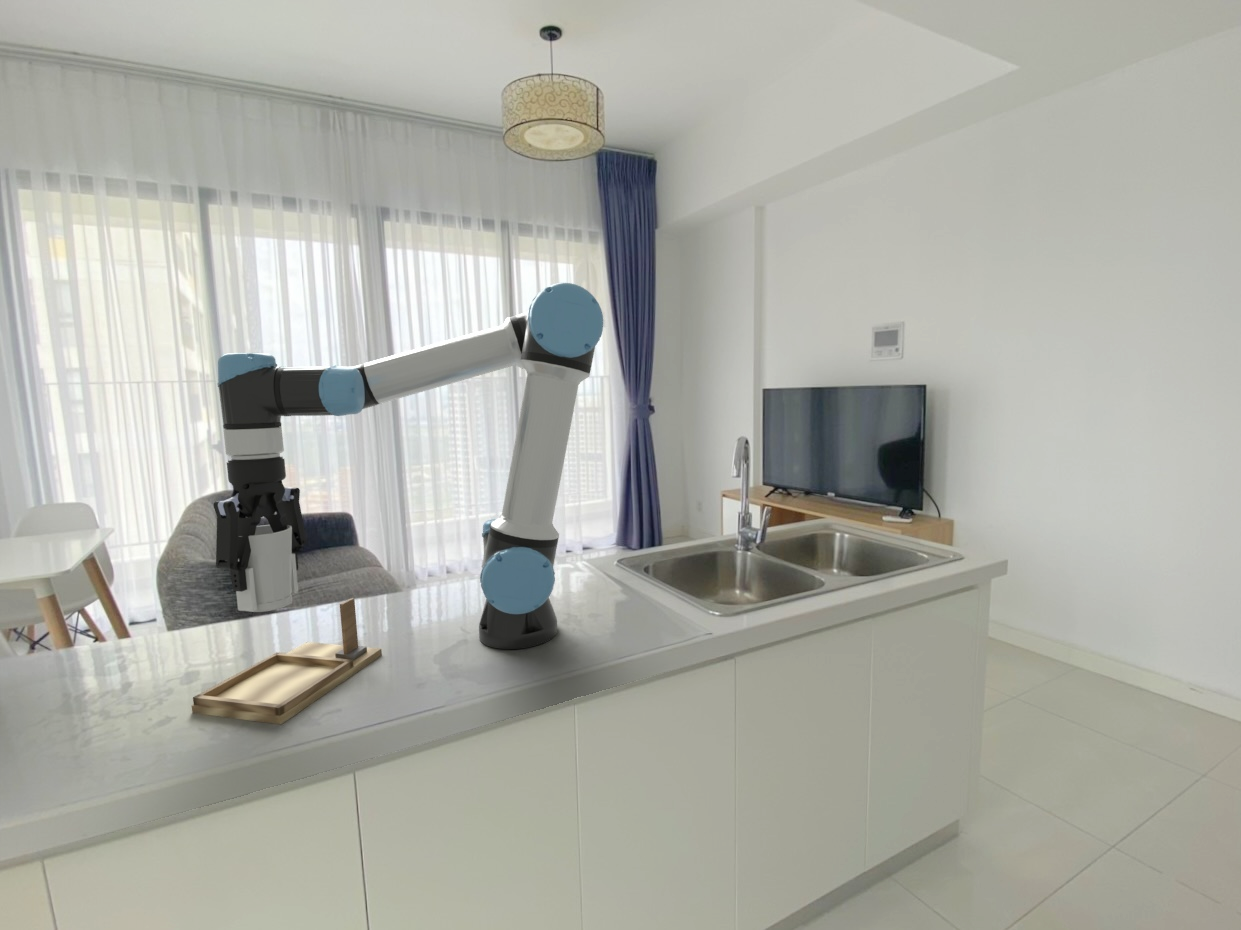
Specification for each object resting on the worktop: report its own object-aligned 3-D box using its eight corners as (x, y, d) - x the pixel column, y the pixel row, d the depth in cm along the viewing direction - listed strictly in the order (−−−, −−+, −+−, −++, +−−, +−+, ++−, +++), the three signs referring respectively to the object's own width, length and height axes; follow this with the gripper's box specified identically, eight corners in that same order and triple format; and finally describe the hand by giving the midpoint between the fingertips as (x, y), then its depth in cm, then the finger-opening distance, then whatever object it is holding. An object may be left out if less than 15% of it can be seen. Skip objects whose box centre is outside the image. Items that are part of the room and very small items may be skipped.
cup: (271, 615, 87) (263, 536, 85) (226, 612, 88) (218, 535, 87) (309, 597, 95) (303, 524, 93) (267, 594, 96) (261, 523, 95)
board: (381, 654, 106) (377, 595, 104) (281, 724, 84) (273, 650, 82) (307, 648, 110) (302, 590, 108) (192, 712, 87) (183, 641, 86)
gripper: (287, 450, 99) (299, 579, 102) (171, 463, 80) (189, 623, 82) (324, 450, 98) (335, 581, 100) (215, 464, 78) (232, 627, 81)
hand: (269, 600), depth 91 cm, fingers closed on cup, 7 cm apart
